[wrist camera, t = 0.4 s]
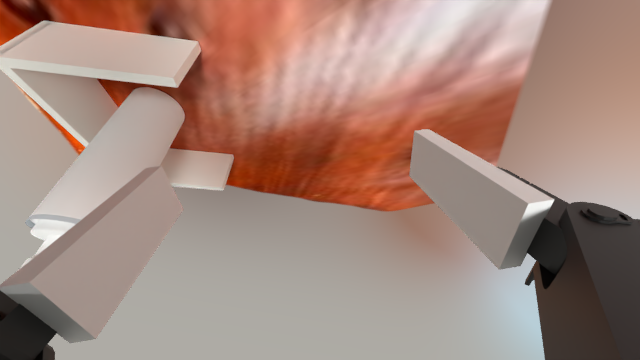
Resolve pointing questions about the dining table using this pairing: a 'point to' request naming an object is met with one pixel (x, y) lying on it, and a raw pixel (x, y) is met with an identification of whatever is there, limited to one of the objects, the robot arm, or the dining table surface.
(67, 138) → the dining table surface
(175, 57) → the storage bay
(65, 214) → the white bottle
